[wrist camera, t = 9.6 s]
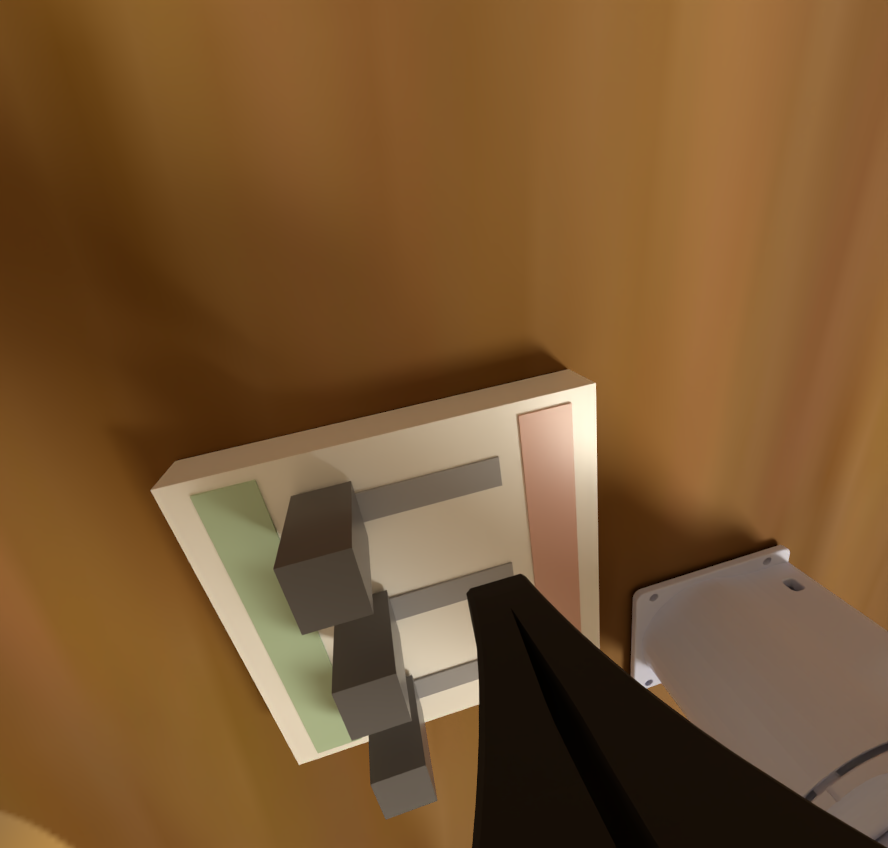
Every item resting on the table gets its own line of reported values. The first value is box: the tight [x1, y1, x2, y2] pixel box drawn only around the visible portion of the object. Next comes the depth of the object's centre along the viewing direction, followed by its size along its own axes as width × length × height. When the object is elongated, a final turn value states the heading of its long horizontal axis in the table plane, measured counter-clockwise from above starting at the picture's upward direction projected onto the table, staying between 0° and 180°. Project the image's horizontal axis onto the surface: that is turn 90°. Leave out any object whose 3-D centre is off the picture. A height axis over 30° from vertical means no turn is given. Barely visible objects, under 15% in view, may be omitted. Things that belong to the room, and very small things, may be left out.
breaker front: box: [273, 481, 374, 635], centre depth 13 cm, size 2×2×4 cm
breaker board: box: [151, 369, 600, 765], centre depth 18 cm, size 15×15×2 cm
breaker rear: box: [369, 675, 437, 819], centre depth 17 cm, size 2×2×4 cm
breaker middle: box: [331, 590, 412, 741], centre depth 15 cm, size 2×2×4 cm
